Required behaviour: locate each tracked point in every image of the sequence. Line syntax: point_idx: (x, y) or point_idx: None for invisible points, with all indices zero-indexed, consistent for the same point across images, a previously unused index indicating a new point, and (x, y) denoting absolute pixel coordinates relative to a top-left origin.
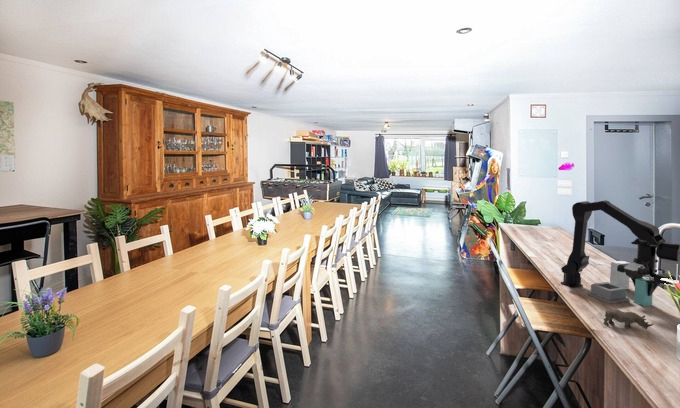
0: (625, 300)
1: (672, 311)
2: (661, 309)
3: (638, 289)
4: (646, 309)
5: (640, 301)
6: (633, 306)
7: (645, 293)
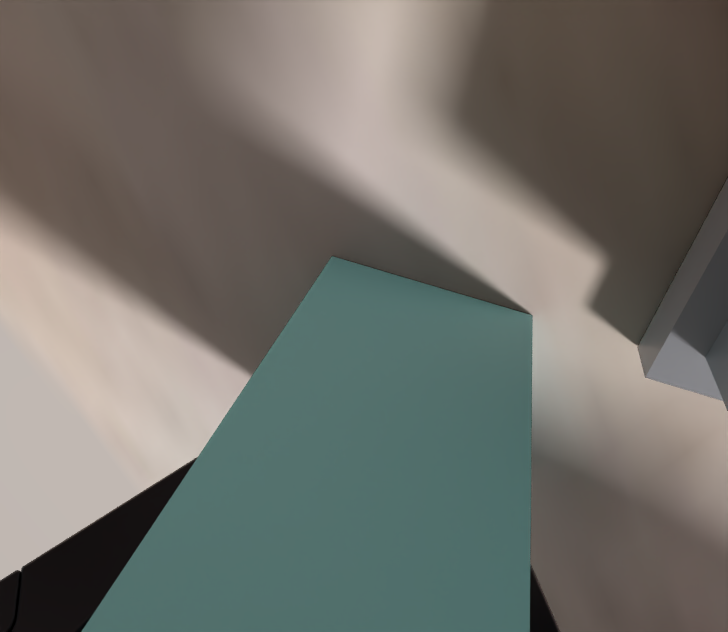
0: (685, 263)
1: (26, 338)
2: (124, 305)
3: (408, 536)
4: (216, 91)
5: (392, 309)
6: (437, 39)
7: (218, 431)
